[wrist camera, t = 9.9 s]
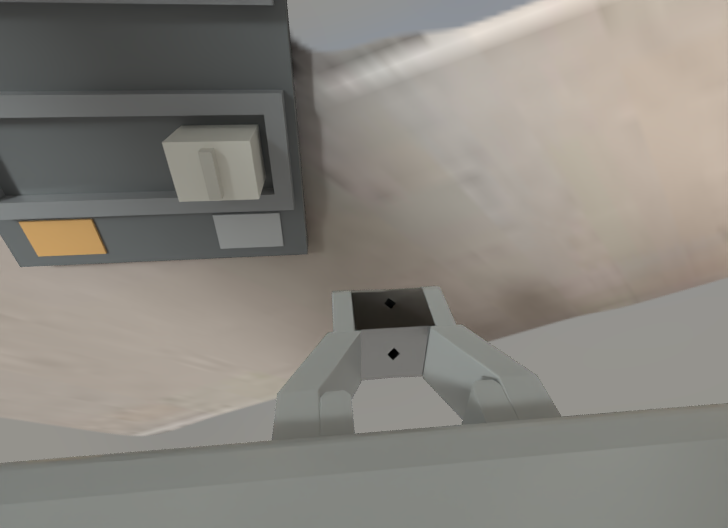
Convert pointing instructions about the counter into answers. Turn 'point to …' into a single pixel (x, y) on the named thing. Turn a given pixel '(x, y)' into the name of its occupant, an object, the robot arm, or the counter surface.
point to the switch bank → (141, 128)
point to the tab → (216, 162)
